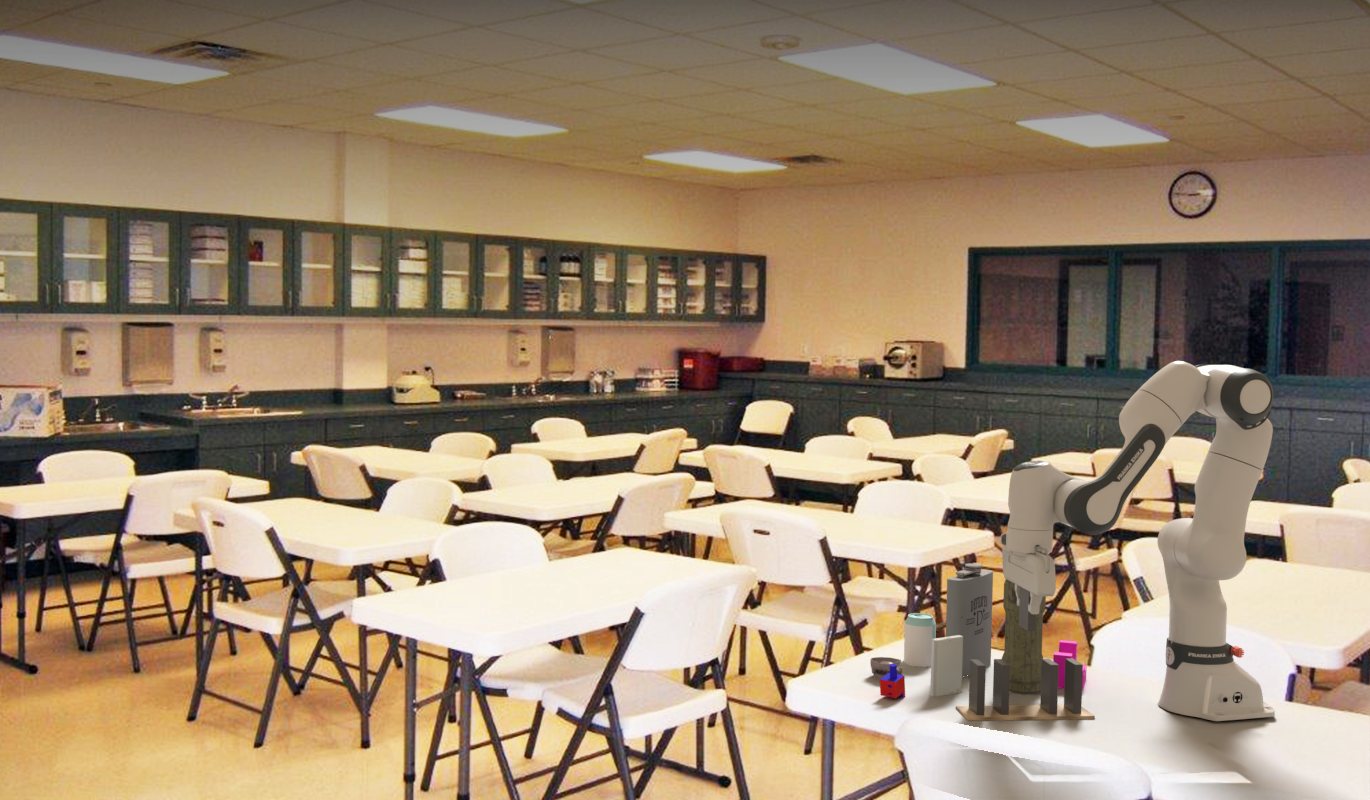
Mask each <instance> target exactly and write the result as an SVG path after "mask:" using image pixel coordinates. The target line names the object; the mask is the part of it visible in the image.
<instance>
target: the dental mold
mask: <svg viewBox="0 0 1370 800" xmlns="http://www.w3.org/2000/svg"><path fill="white" fill-rule="evenodd" d="M890 664H896V665H897V674H899V675H904V673H903V670H904V668H903V666H901V664H902V659H899V658H895V657H883V656H878V657H871V658H870V669H871V673H872V674H873V677H872V678H873V679H875V680H876V681H879V682H880V679H881V678H882V677H884V676H885V675H886V674H888V673H890V667H889V665H890Z"/></svg>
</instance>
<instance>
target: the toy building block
mask: <svg viewBox="0 0 1370 800" xmlns="http://www.w3.org/2000/svg"><path fill="white" fill-rule="evenodd" d="M889 667H890V673H888V674H886V675H885V676H884V677H882V678H881V679H880V681H879V687H880V688H879V692H880V696H883V697H887V698H894V699H897V698H900V699H901V698H902V699H904V698H906V685H905V684H906V683H905V682H906V681H905V675H904V674H903V675H899V674H897V669H898V667H897V665H896V664H890V665H889Z"/></svg>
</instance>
